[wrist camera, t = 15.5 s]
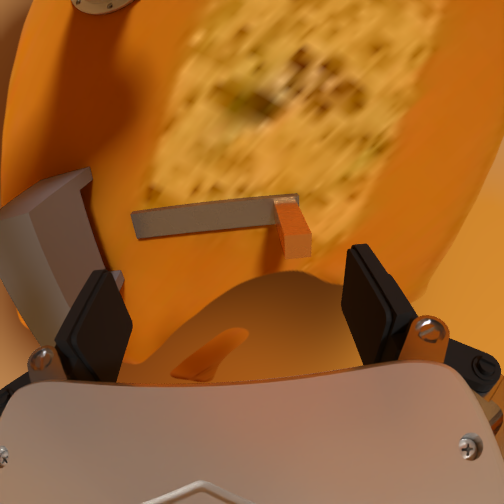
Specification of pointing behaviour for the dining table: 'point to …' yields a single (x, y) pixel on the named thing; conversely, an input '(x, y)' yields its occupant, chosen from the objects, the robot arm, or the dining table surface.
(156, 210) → the scraper
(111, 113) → the dining table surface
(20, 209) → the grey bridge block
